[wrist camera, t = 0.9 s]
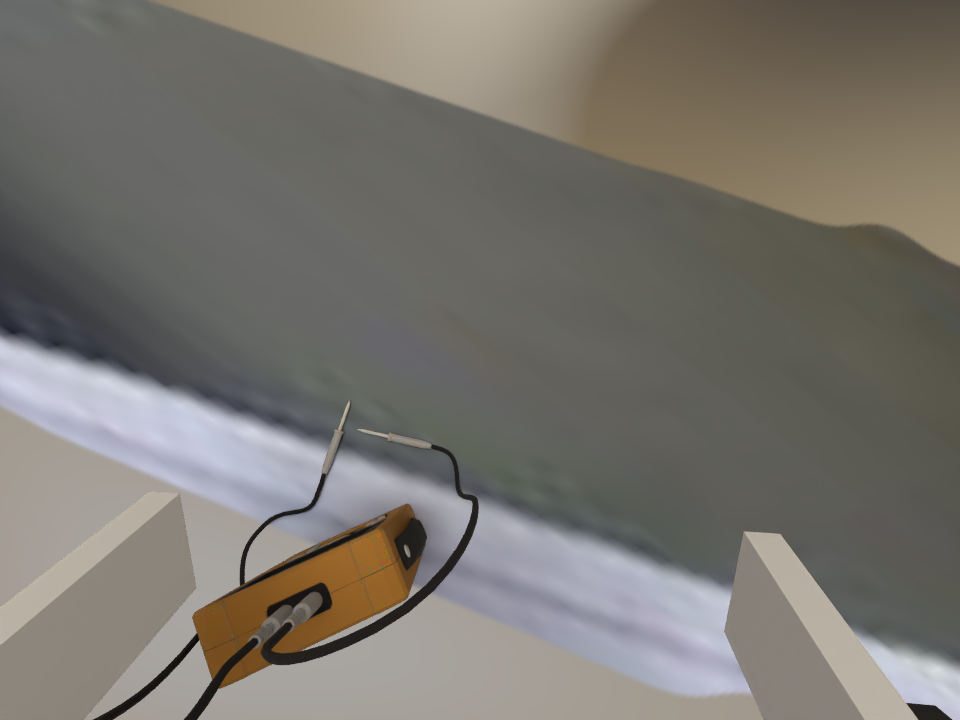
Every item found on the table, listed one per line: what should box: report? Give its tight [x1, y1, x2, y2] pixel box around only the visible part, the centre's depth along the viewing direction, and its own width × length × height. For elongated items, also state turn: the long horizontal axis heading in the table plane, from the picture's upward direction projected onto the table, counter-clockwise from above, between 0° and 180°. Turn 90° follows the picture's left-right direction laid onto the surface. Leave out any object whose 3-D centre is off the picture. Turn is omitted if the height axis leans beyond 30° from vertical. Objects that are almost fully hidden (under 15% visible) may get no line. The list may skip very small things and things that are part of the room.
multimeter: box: [94, 401, 479, 720], centre depth 22 cm, size 15×10×20 cm
